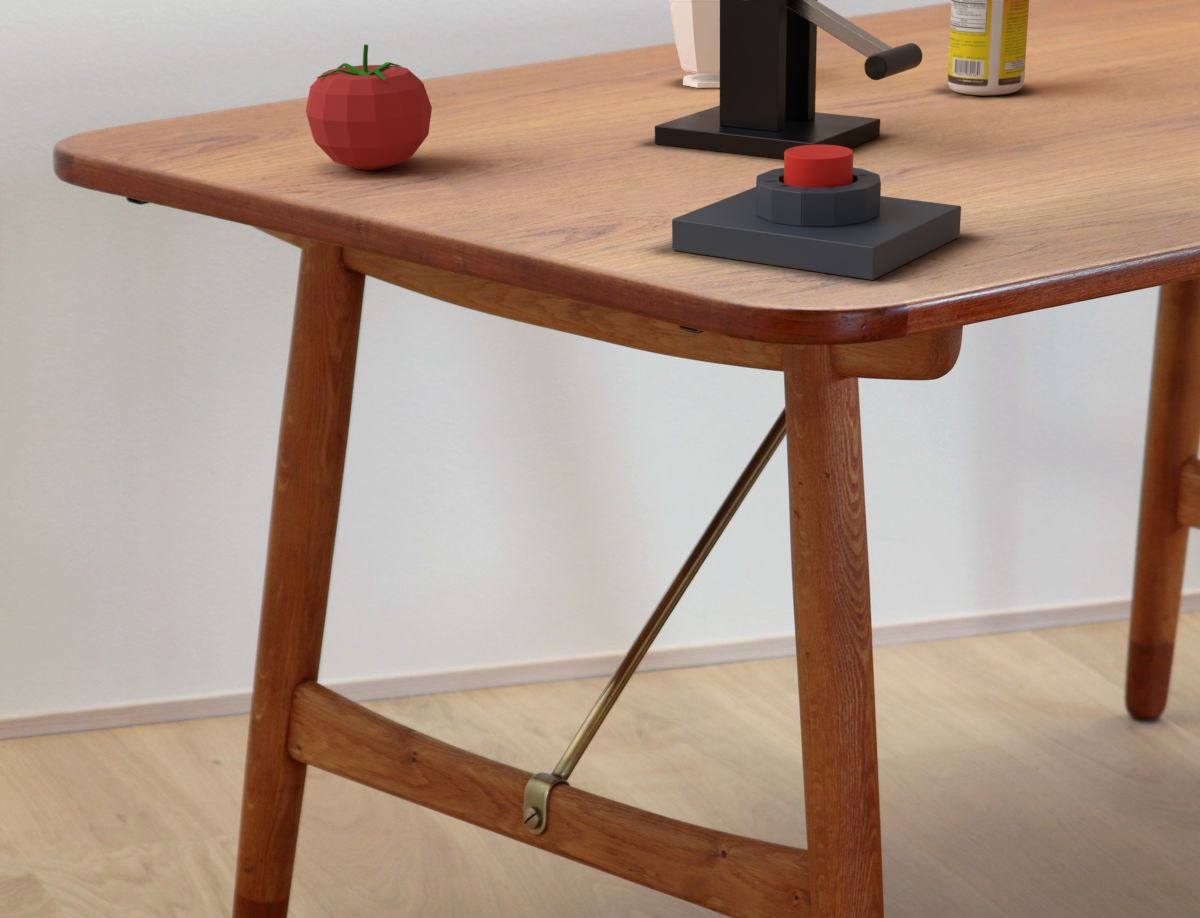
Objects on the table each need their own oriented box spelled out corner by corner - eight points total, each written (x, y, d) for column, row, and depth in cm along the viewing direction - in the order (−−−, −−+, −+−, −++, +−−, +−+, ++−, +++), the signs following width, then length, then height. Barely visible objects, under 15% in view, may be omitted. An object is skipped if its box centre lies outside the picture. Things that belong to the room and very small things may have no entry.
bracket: (880, 136, 128) (886, -50, 123) (813, 162, 121) (817, -34, 116) (725, 120, 134) (726, -58, 129) (654, 144, 128) (652, -43, 123)
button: (864, 181, 102) (865, 148, 101) (831, 195, 99) (832, 161, 99) (804, 174, 104) (805, 141, 103) (771, 187, 101) (771, 154, 101)
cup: (648, 87, 146) (647, -23, 143) (704, 66, 154) (704, -39, 151) (733, 93, 143) (733, -20, 140) (785, 71, 151) (787, -36, 148)
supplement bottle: (1019, 83, 144) (1029, -61, 140) (1027, 97, 139) (1037, -52, 135) (943, 83, 145) (951, -60, 140) (949, 97, 140) (956, -51, 135)
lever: (913, 78, 123) (929, 44, 121) (877, 91, 119) (893, 56, 118) (765, -15, 126) (778, -49, 125) (725, -6, 123) (738, -41, 121)
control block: (960, 237, 103) (963, 171, 102) (873, 280, 96) (875, 211, 95) (767, 211, 110) (767, 149, 108) (671, 250, 102) (671, 184, 101)
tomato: (332, 186, 118) (321, 58, 115) (294, 163, 125) (283, 41, 122) (453, 171, 121) (446, 46, 118) (410, 149, 128) (402, 30, 125)
